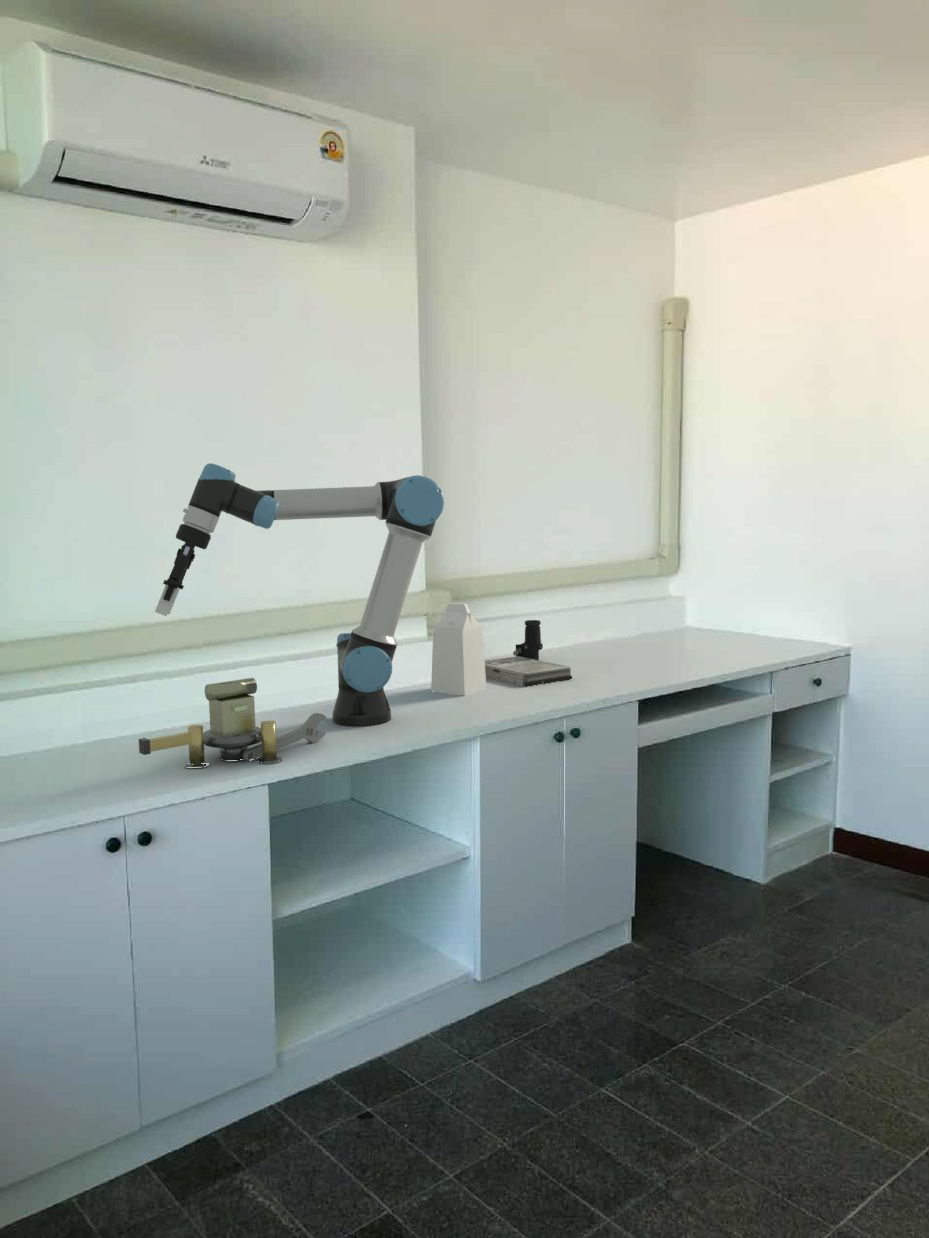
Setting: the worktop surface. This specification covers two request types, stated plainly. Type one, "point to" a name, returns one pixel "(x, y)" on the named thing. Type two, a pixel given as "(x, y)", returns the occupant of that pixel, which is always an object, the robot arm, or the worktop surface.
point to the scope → (530, 641)
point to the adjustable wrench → (293, 736)
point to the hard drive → (526, 671)
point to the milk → (458, 653)
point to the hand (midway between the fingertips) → (162, 613)
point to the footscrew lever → (178, 743)
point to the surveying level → (237, 722)
